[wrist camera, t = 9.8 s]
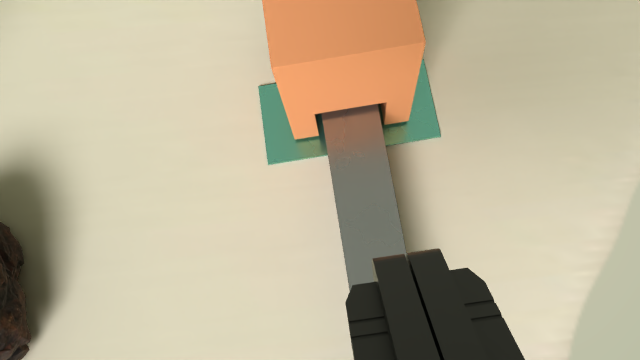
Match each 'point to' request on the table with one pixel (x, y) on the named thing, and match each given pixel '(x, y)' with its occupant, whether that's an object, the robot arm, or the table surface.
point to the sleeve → (344, 57)
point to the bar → (355, 168)
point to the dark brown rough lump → (11, 299)
